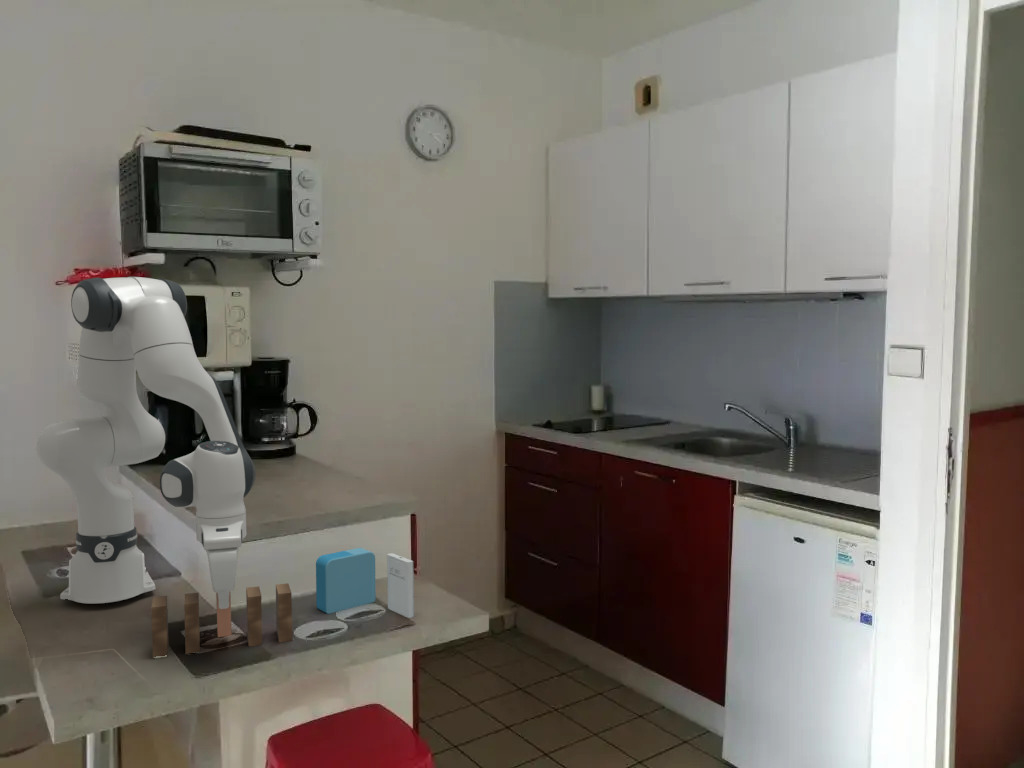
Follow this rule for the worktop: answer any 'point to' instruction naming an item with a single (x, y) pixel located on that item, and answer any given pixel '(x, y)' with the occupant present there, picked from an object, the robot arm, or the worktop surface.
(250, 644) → the domino
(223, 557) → the robot arm
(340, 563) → the blue rounded box
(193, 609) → the domino
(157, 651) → the domino
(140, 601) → the worktop surface
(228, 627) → the domino
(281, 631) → the domino
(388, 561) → the hard drive
